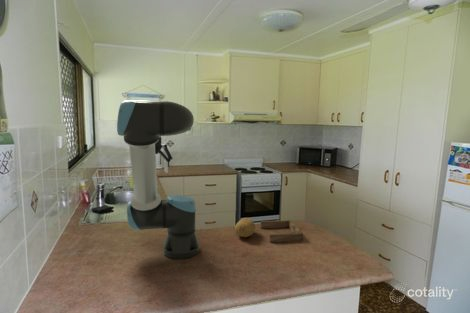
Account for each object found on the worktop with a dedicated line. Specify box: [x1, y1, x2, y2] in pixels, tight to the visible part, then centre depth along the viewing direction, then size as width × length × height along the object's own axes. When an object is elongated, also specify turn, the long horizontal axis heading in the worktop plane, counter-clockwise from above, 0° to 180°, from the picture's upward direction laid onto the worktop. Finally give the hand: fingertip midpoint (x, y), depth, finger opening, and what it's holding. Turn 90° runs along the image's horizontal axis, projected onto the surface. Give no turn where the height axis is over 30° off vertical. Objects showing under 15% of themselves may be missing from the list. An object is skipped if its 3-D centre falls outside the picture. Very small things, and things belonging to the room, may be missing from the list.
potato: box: [234, 217, 256, 238], centre depth 137 cm, size 10×14×8 cm
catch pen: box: [260, 219, 304, 243], centre depth 140 cm, size 18×16×4 cm
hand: (154, 174), depth 152 cm, fingers open, 13 cm apart
